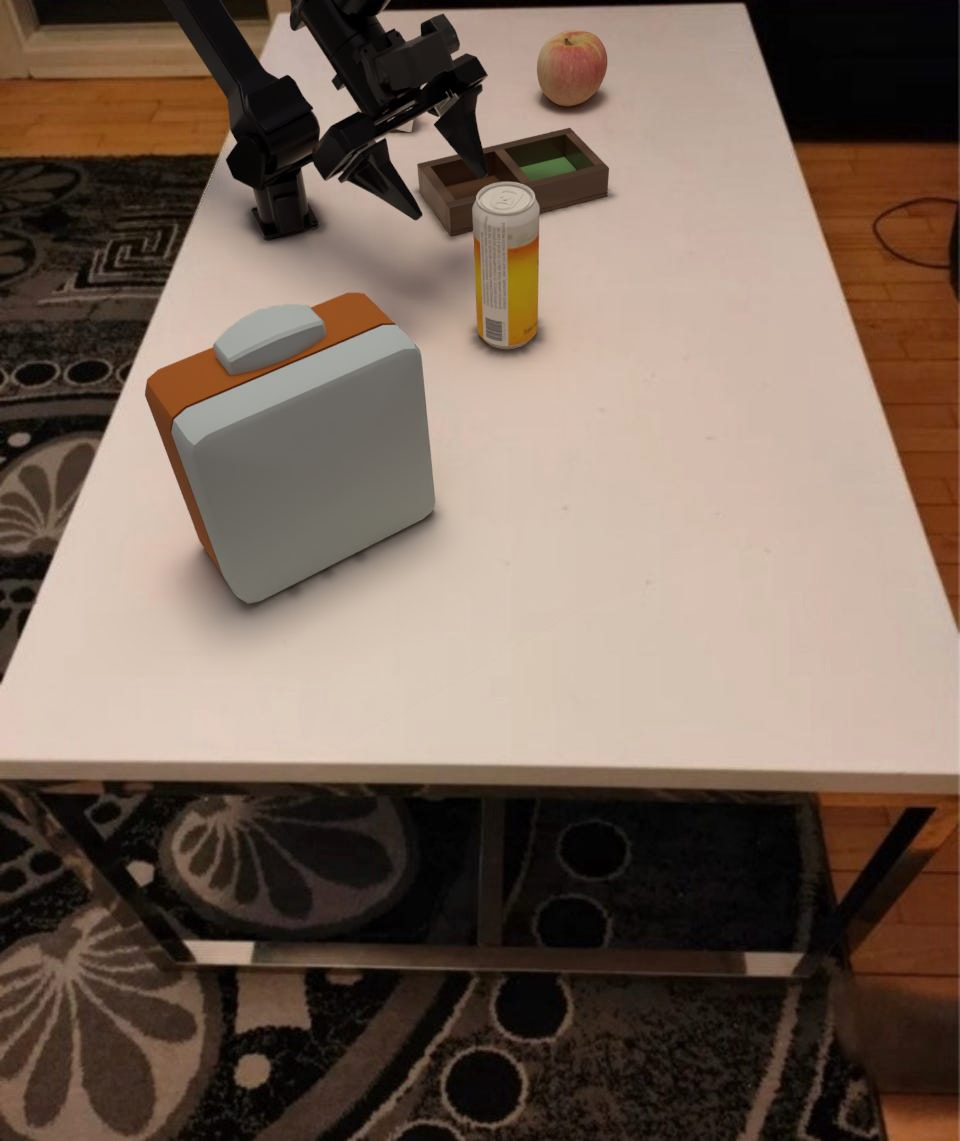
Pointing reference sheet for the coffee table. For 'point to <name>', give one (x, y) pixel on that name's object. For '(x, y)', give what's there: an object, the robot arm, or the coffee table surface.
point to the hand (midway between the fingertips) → (452, 197)
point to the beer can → (506, 263)
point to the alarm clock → (297, 439)
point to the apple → (571, 67)
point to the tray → (516, 176)
